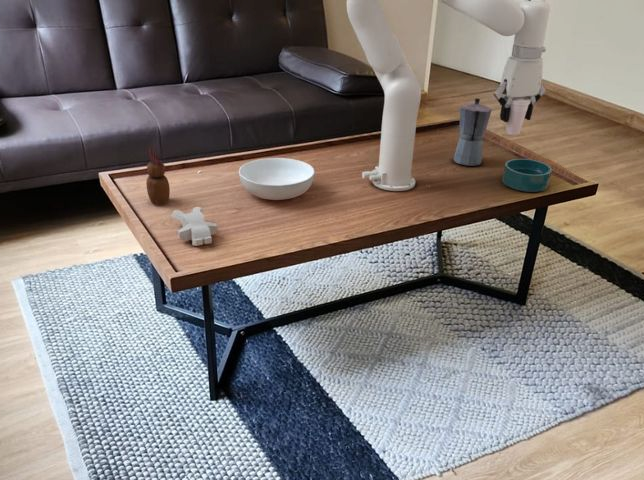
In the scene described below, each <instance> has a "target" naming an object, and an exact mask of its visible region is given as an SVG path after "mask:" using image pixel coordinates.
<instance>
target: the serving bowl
mask: <svg viewBox="0 0 644 480" xmlns="http://www.w3.org/2000/svg"><path fill="white" fill-rule="evenodd" d="M315 172H316V171H315V169H314V167H313V166H312V165H310V164H309V163H308V162H306V161H302V160H298V159H294V158H287V157H267V158H259V159H254V160H250V161H248V162H245V163H244V164H242V165H241V166H240V167H239V169H238V176H239V181H240V183H241V185H242V187H243V188H244V189H245V190H246V191H247V192H248V193H249V194H251V195H252V196H255V197H257V198H259V199H264V200H271V201H283V200H290V199H294V198H297V197H299V196H301V195H303V194H304V193H306V192H307V191H308V190H309V189H310V187H311V186H312V184H313V181H314V179H315V174H316V173H315Z"/></svg>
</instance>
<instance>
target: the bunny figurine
mask: <svg viewBox="0 0 644 480" xmlns="http://www.w3.org/2000/svg"><path fill="white" fill-rule="evenodd" d="M171 217H172V219H176V221H177V220H178V221H180V222H181V226H182V227H181V228H179V229H177V236H178V239H179V240H187V241H188V240H189V241H191V244H192V246H196V247H197V246H203V245H208V244H212V243H213V239H212V236H213V235H215V234H217V233H218V232H219V231H218V224H217V223H215V222H210V221H205V216H204V210H203V209H202V207H200V206H195V207H193V208H192V211H190V212H186V213H185V212H183V211H181V210H179V209H175V210H173V212H172V214H171Z"/></svg>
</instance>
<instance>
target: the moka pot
mask: <svg viewBox="0 0 644 480" xmlns="http://www.w3.org/2000/svg"><path fill="white" fill-rule="evenodd" d="M480 102H481V99H480V98H474V102H473V103H464V104H462V105H460V106H459V138H458V142H457V146H456V148H455V152H454V155H453V162H454V163H456V164H458V165H462V166H467V167H474V166H479V165H481V164H482V161H483V139H484V134H485V133H486V131H487V128H488V124H489V121H490V117H491V114H492V111H493V110H492V108H491V107H489V106H487V105H485V104H481V103H480Z"/></svg>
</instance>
